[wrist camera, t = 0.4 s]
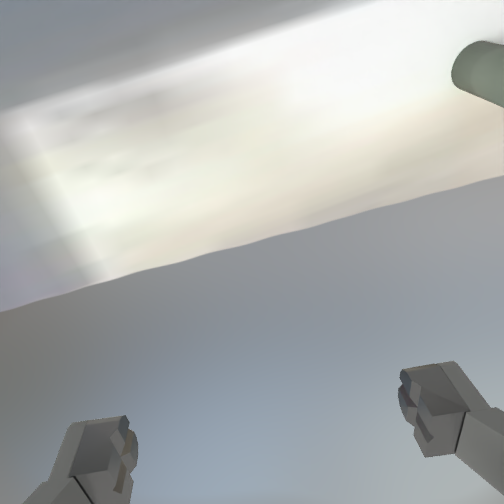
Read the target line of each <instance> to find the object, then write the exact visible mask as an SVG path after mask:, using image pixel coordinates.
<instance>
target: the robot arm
mask: <svg viewBox="0 0 504 504" xmlns="http://www.w3.org/2000/svg"><path fill="white" fill-rule="evenodd" d="M400 380H401V382H402V383H403V384H402V385H401V386H400V388H399V389H398V398H399V404H400V407H401V410H402V413H403V415H404V417H405V419H406V421H407V422H409V423H410V424H412V425H413V426H414V427H415V429H414V437H415V439H416V441H417V443H418V445H419V447H420V449H421V451H422V453H423V455H424V457H433V456H440V455H447V454H455V453H456V454H455V455H456V456H457V457H458V458H459V459H461V460H462V461H463V462H464V463H465V464H467V465H468V466H469V467H470V468H471V469H473V470H474V471H475V472H476V473H478V474H479V475H480V476H481V477H482V478H483V479H485V480H486V481H487V482H488V483H489V484H491V485H492V486H493V487H494V488H495V489H497V490H498V491H499V492H500V493H501V494H503V495H504V412H503V411H502V410H500V409H498V408H496V407H495V408H491V407H490V406H489V405H488V403H487V402H486V401H485V399H484V398H483V397H482V395H481V394H480V393H479V392H478V390H477V389H476V388H475V386H474V385H473V384H472V382H471V381H470V380H469V378H468V377H467V376H466V374H465V373H464V372H463V370H462V369H461V368H460V366H459V365H458V364H457V363H456V362H454V361H449V362H443V363H437V364H429V365H423V366H418V367H412V368H407V369H402V371H401V372H400ZM128 427H129V421H128V419H127V417H126V415H124V416H117V417H109V418H102V419H95V420H87V421H81V422H74V423H72V424H71V425H70V426H69V427H68V429H67V431H66V434H65V437H64V439H63V442H62V445H61V447H60V450H59V453H58V456H57V458H56V461H55V463H54V466H53V469H52V471H51V474H50V477H49V479H48V481H46V482H42V484H40V485H39V487H38V488H37V489H36V490H35V491H34V492H33V493H32V494H31V495H30V496H29V497H28V498H27V499H26V501H25V502H24V503H23V504H129V503H130V498H131V493H132V487H133V480H132V478H131V476H130V473H131V472H132V471H133V469H134V468H135V467H136V464H137V459H138V442H137V437H136V435H135V433H134V431H132V430H130V429H128Z"/></svg>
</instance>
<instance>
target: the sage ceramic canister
mask: <svg viewBox="0 0 504 504" xmlns="http://www.w3.org/2000/svg"><path fill="white" fill-rule="evenodd" d="M451 77H452V81H453V83H454V85H455V86H456V87H457V88H459V89H461V90H463V91H466V92H468V93H470V94H473V95H475V96H477V97H480V98H482V99H484V100H487V101H489V102H492V103H494V104H496V105H499V106H501V107H503V108H504V45H501V44H497V43H492V42H487V41H477V42H474V43H472V44H470V45H468V46H467V47H466V48H464V49H463V50H462V51H461V52H460V54H459V55H458V56H457V58H456V60H455V62H454V64H453V67H452V72H451Z"/></svg>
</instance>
